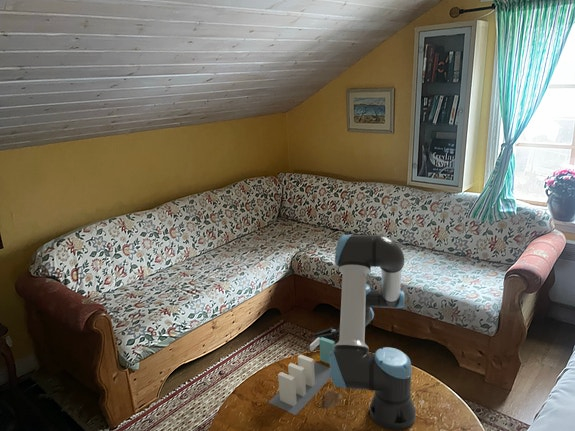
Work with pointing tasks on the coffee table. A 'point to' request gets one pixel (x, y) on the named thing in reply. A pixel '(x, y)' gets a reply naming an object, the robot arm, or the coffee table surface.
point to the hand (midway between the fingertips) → (324, 353)
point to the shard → (330, 399)
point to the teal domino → (326, 349)
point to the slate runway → (321, 378)
